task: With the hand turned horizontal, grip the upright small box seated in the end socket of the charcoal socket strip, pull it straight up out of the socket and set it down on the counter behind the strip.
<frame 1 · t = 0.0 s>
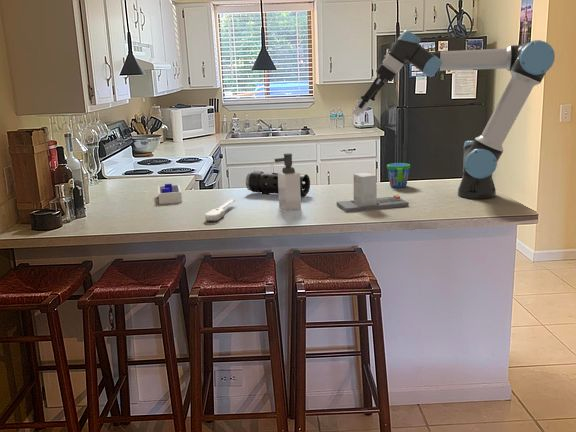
hand: (357, 113, 232), 36 cm above the countertop, tool tilted 35°, fingers open, 13 cm apart
small box: (365, 207, 230), resting in socket strip
snack cup: (398, 186, 265), on the countertop
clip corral: (170, 198, 257), on the countertop
socket strip: (372, 205, 230), on the countertop
muzzle brake: (277, 195, 257), on the countertop
soap dispenser: (287, 209, 231), on the countertop
cable clip: (169, 199, 257), resting in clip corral
white spoon: (222, 214, 227), on the countertop
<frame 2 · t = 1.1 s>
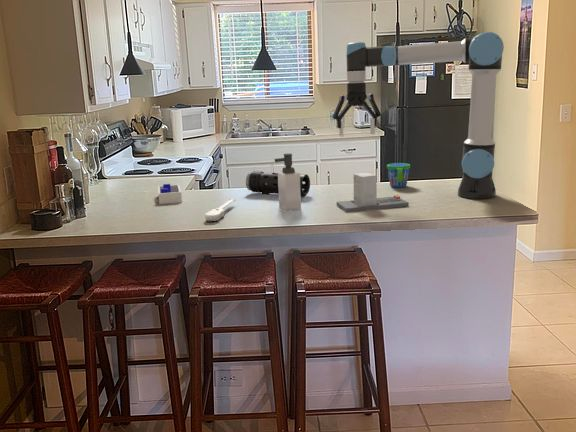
hand: (357, 135, 237), 27 cm above the countertop, tool pointing down, fingers open, 13 cm apart
nothing on the countertop moved.
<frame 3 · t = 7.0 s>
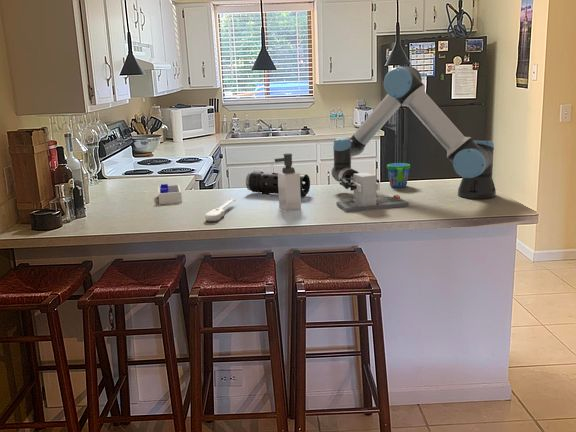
hand: (369, 187, 223), 9 cm above the countertop, tool horizontal, fingers closed on small box, 7 cm apart
small box: (365, 207, 230), resting in socket strip, touching gripper
when the fingers open (10 cm above the countertop, at t = 11.8 s): small box drops 1 cm, on the countertop.
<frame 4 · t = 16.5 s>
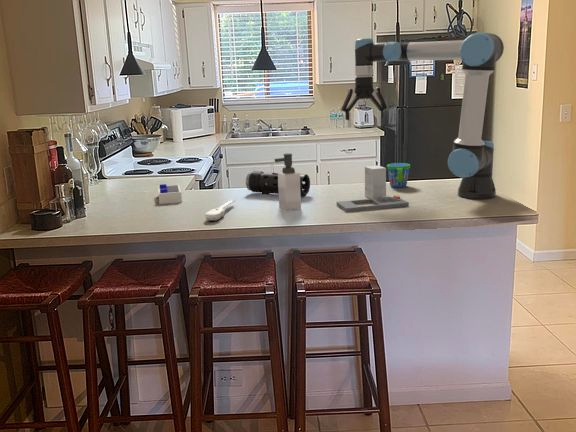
hand: (364, 126, 250), 29 cm above the countertop, tool pointing down, fingers open, 13 cm apart
small box: (375, 197, 245), on the countertop
at the end: small box inside the target area (0.5 cm from its centre), on the countertop; small box tilted 0°; the gripper is holding nothing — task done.
